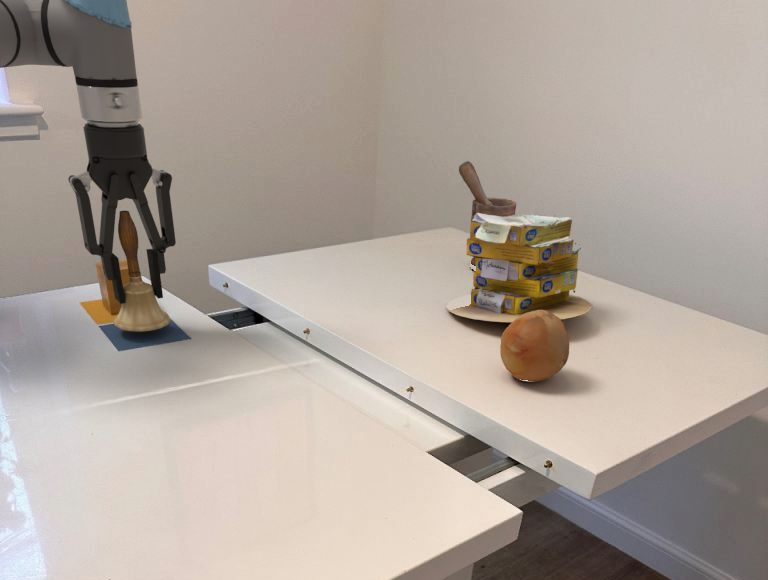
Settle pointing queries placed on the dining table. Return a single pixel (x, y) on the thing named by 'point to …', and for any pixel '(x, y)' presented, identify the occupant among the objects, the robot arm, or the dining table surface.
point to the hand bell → (136, 287)
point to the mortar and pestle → (484, 197)
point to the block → (111, 287)
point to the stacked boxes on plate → (522, 268)
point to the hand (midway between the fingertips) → (139, 297)
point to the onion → (535, 346)
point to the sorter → (130, 338)
